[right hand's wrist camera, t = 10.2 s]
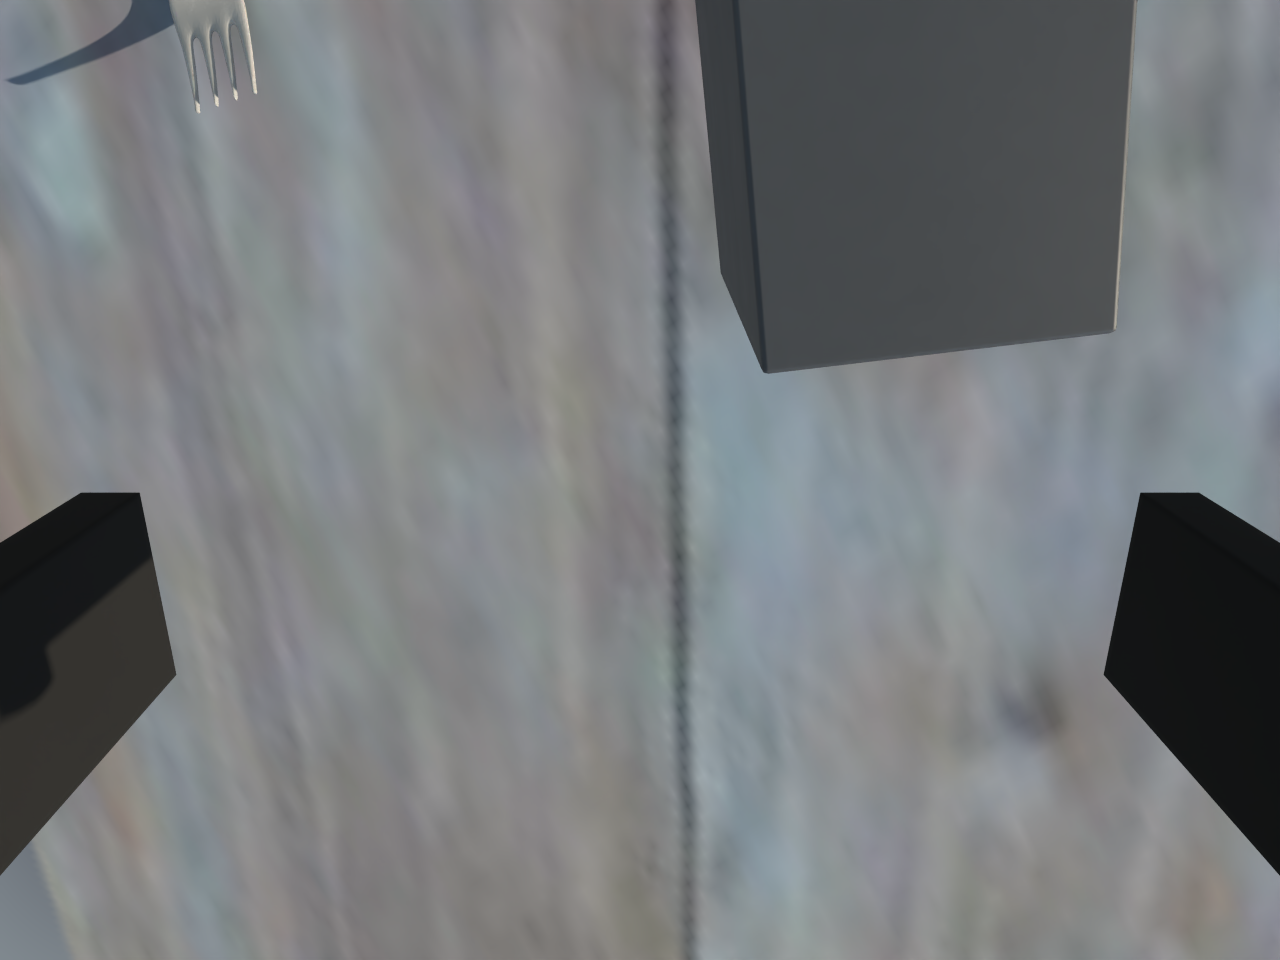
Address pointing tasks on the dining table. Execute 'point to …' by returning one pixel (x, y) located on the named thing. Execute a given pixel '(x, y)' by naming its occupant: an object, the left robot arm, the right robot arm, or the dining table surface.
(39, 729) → the right robot arm
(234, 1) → the fork
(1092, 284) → the bar
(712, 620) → the dining table surface
